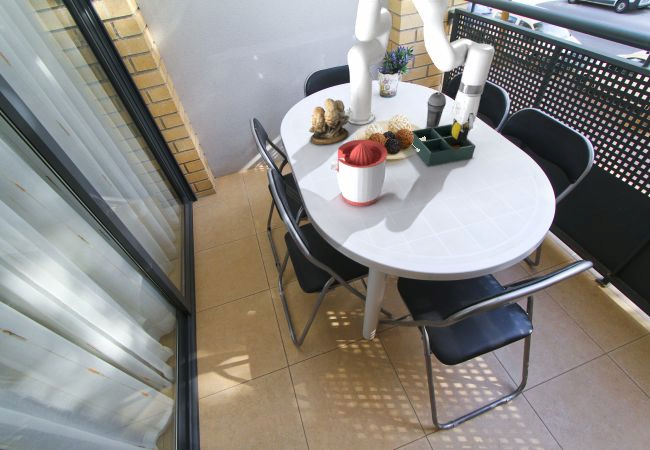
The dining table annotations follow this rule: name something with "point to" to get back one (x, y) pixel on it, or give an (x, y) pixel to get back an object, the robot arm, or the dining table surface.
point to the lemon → (456, 130)
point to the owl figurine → (329, 123)
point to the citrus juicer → (360, 171)
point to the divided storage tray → (441, 146)
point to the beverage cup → (435, 108)
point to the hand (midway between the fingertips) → (458, 136)
